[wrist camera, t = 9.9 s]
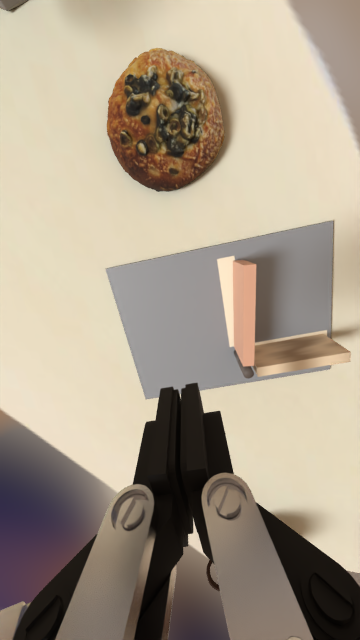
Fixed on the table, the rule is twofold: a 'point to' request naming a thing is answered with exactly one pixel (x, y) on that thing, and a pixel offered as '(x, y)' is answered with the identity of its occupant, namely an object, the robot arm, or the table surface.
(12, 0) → the coffeepot
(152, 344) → the card
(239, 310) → the folding fence panel
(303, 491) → the table surface
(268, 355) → the fixed fence section
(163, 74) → the bread roll
